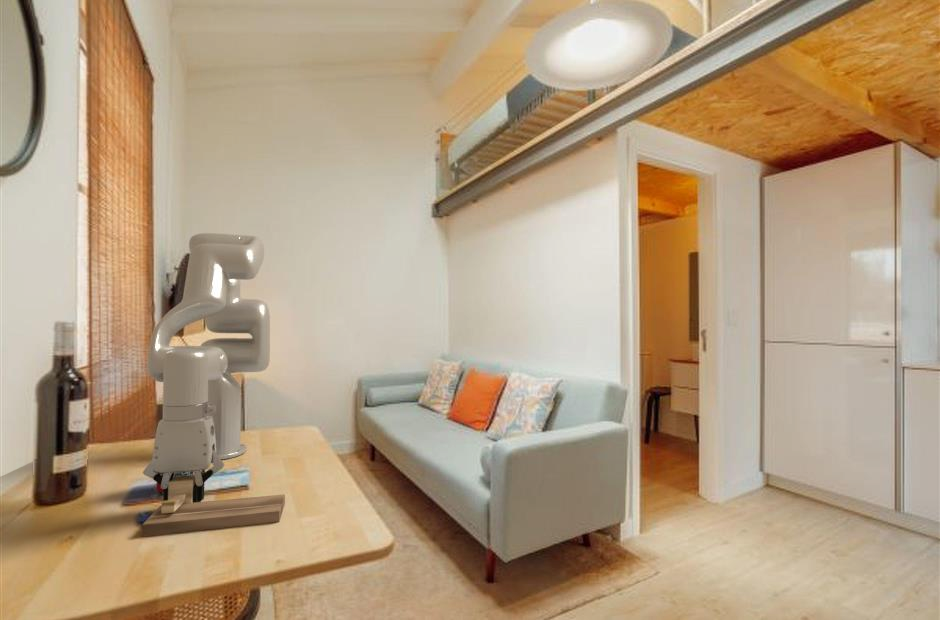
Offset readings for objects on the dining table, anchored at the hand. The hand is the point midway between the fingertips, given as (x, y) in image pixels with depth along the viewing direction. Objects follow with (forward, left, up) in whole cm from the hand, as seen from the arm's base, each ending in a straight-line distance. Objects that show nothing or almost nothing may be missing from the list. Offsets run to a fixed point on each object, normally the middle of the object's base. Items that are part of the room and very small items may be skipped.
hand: (184, 504), depth 88 cm
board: (+6, +8, -1) cm, 10 cm away
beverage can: (-12, -5, -1) cm, 13 cm away
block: (+3, 0, -1) cm, 3 cm away
